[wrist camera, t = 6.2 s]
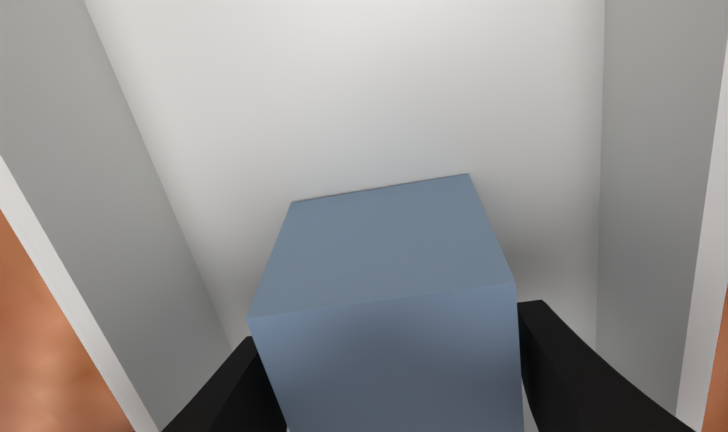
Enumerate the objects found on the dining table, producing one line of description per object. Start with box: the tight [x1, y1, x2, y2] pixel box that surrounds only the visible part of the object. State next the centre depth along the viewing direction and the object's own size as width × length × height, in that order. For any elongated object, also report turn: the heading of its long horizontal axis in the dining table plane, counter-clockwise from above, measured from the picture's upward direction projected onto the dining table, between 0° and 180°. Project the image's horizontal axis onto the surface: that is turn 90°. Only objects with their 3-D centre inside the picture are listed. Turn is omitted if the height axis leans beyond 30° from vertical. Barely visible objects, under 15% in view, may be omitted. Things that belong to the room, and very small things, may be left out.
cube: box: [245, 173, 524, 432], centre depth 12 cm, size 5×5×5 cm
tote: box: [0, 0, 728, 432], centre depth 11 cm, size 13×17×5 cm
